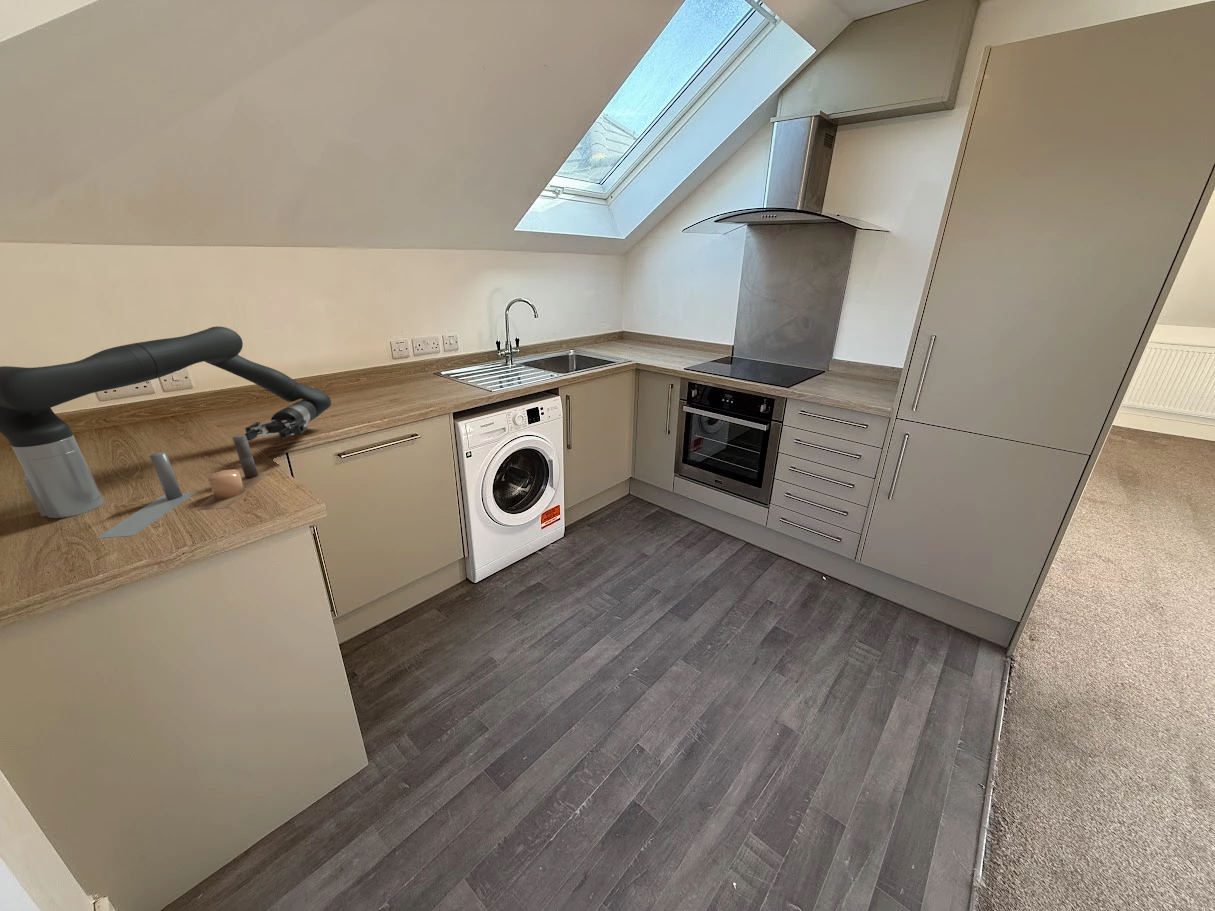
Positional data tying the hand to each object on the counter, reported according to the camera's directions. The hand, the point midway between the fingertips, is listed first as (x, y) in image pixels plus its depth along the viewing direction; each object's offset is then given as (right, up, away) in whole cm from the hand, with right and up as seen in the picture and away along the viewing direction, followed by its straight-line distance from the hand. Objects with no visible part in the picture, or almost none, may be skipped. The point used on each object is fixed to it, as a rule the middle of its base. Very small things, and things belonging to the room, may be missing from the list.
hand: (264, 436), depth 132 cm
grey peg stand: (-7, -19, -25) cm, 32 cm away
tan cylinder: (+3, -14, -16) cm, 22 cm away
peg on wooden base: (+3, -15, -14) cm, 21 cm away
